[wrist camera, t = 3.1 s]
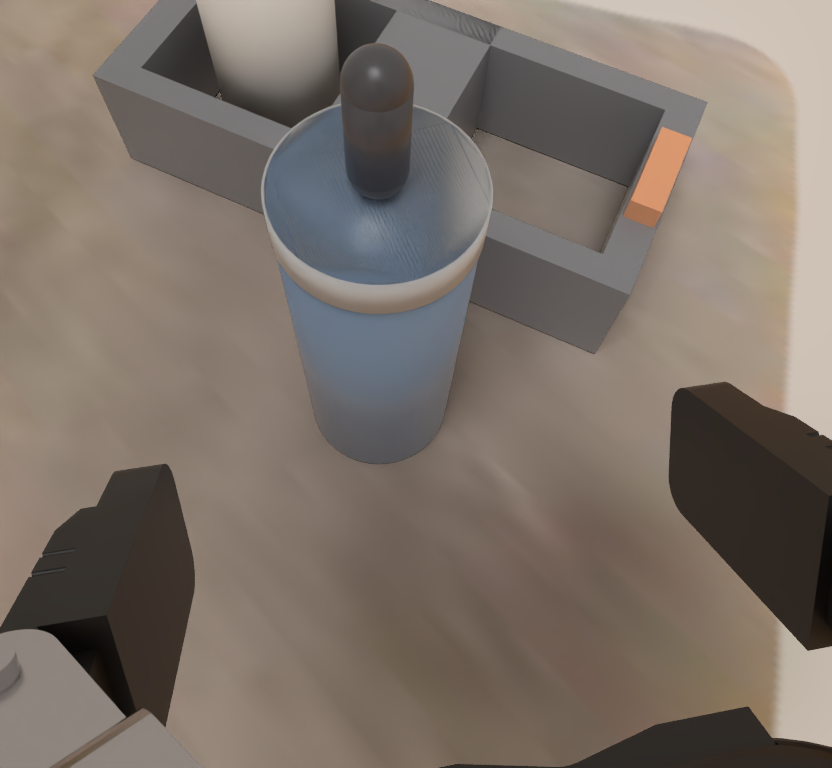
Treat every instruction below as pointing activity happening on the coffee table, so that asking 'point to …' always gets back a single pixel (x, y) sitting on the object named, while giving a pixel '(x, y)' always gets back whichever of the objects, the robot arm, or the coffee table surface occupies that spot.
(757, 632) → the coffee table surface
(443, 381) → the canister
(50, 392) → the coffee table surface
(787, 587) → the robot arm
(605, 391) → the coffee table surface
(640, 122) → the gray two-compartment caddy
